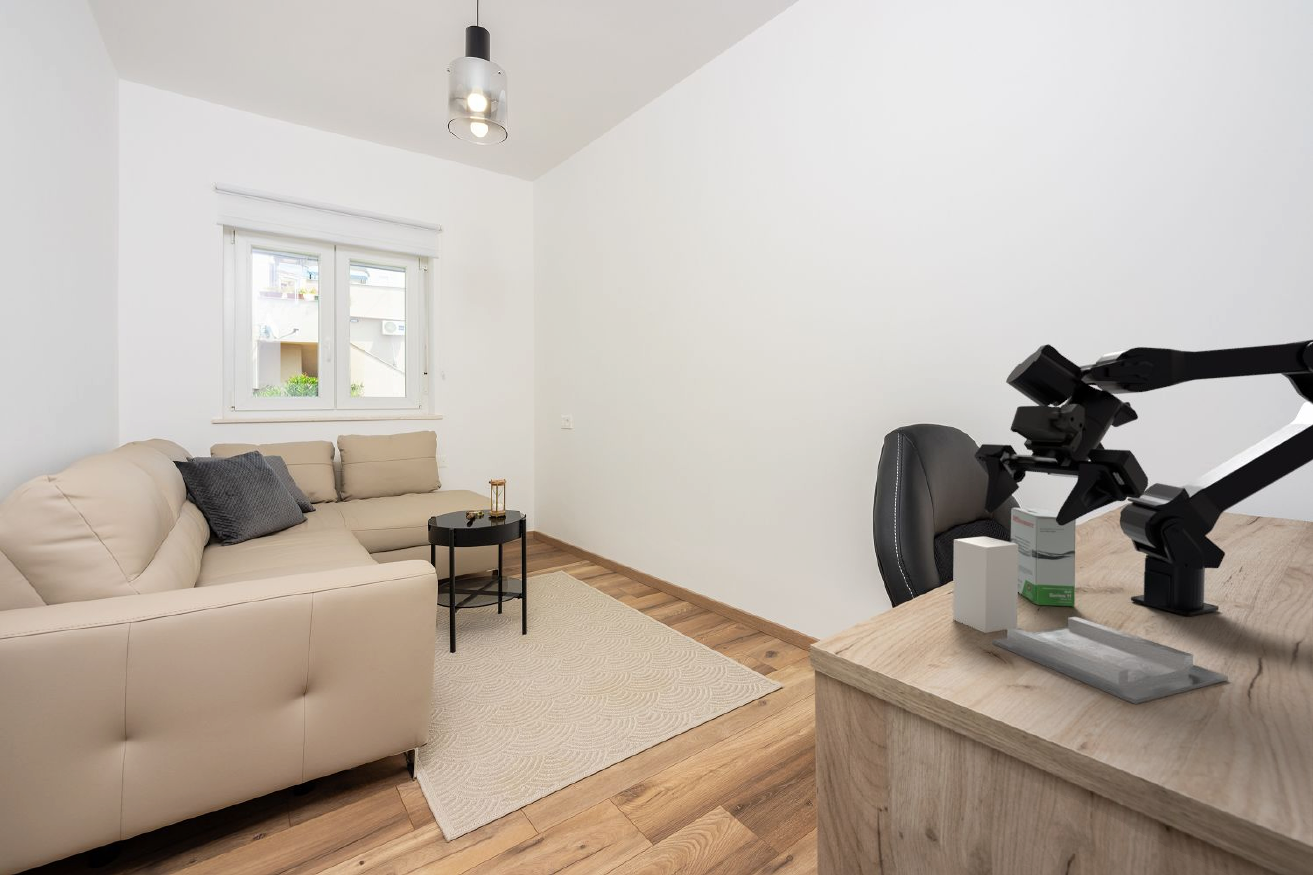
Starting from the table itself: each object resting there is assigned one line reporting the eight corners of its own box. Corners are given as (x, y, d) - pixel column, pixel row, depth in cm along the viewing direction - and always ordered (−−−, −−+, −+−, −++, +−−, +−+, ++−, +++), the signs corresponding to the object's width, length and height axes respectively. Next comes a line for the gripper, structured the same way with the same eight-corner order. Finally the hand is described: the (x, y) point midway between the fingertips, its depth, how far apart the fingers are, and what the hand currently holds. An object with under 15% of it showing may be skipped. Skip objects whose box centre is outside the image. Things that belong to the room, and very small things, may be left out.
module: (983, 614, 72) (984, 536, 71) (1017, 627, 67) (1018, 544, 67) (952, 619, 70) (953, 539, 70) (985, 632, 66) (986, 547, 65)
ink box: (1076, 607, 74) (1078, 517, 73) (1034, 605, 75) (1036, 516, 74) (1045, 588, 82) (1046, 506, 82) (1008, 586, 83) (1009, 506, 83)
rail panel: (1076, 628, 67) (1076, 609, 67) (1227, 680, 54) (1228, 657, 53) (992, 643, 63) (993, 623, 62) (1134, 704, 49) (1135, 679, 49)
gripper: (984, 387, 81) (926, 467, 77) (1135, 379, 64) (1070, 481, 60) (1021, 441, 84) (967, 520, 81) (1174, 446, 67) (1114, 548, 63)
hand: (1020, 516), depth 71 cm, fingers open, 9 cm apart
